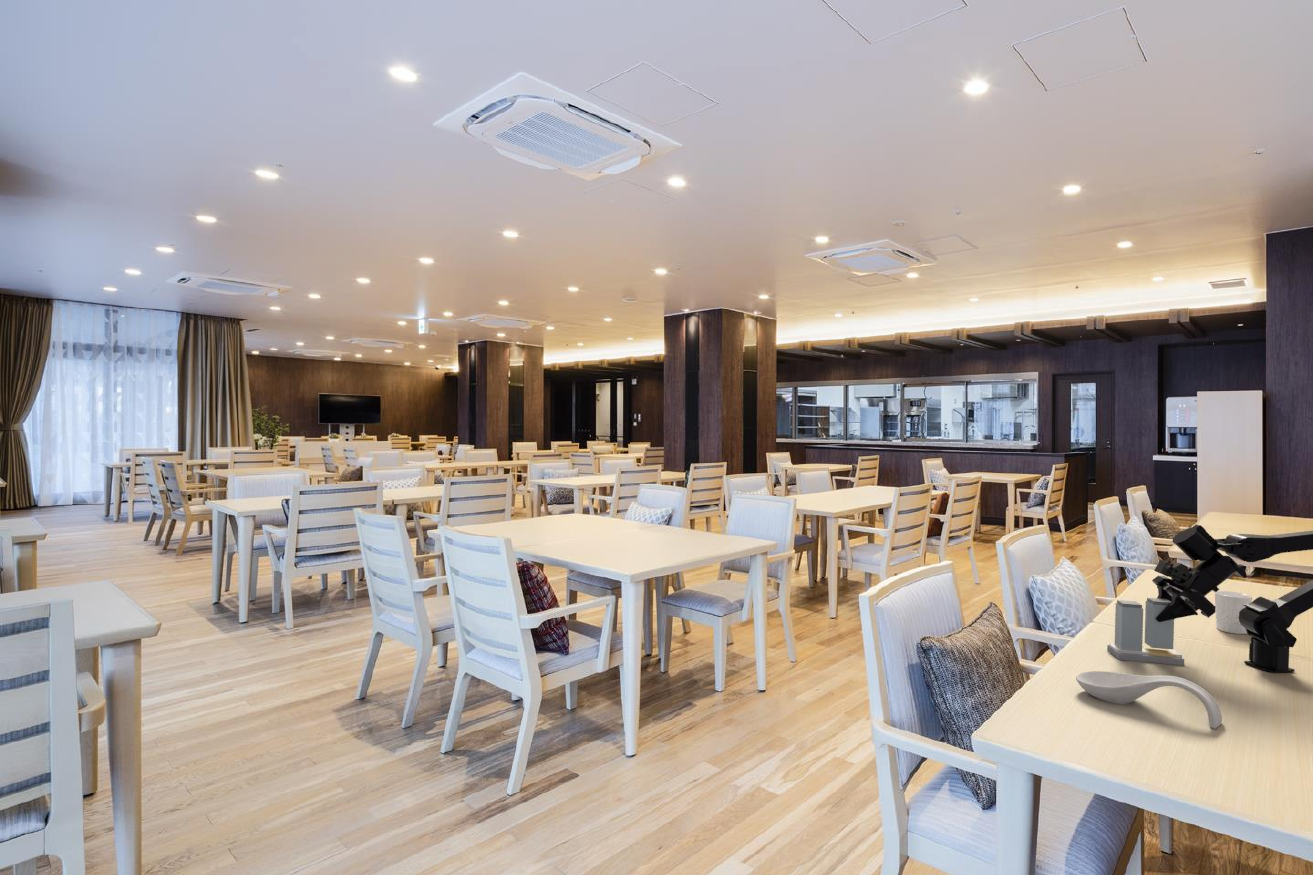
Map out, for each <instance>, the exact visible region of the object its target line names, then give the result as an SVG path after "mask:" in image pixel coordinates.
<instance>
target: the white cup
mask: <svg viewBox="0 0 1313 875" xmlns="http://www.w3.org/2000/svg"><path fill="white" fill-rule="evenodd" d="M1251 602H1253V596H1252V595H1250V594H1247V593H1242V592H1235V591H1227V590H1224V591H1223V590H1218V591H1217V592H1214V606H1215V607H1216V608H1215V619H1216V620H1215V626H1216V629H1217V630H1219V631H1221V632H1224V633H1228V634H1229V633H1230V634H1235V635H1236V634H1237V635H1248V634H1247V632H1246V629H1245V628H1244V627H1243V626H1242V625H1241V624H1240V622H1239V612H1240V611H1241V610H1242V609H1243V608H1245V606H1244V604H1248V603H1251Z"/></svg>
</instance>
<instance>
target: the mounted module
mask: <svg viewBox="0 0 1313 875" xmlns="http://www.w3.org/2000/svg"><path fill="white" fill-rule="evenodd" d="M1114 612H1115V614H1114V616H1115V618H1114V644H1115V645H1116V646H1117V647H1118V648H1120V649H1121V650H1131V651H1142V646H1143V637H1144V636H1143V633H1144V629H1143V628H1144V608H1143V604H1142V603H1139V602H1138V601H1136V600H1135V601H1134V600H1121V599H1117V600H1116V603H1115V611H1114Z"/></svg>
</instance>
